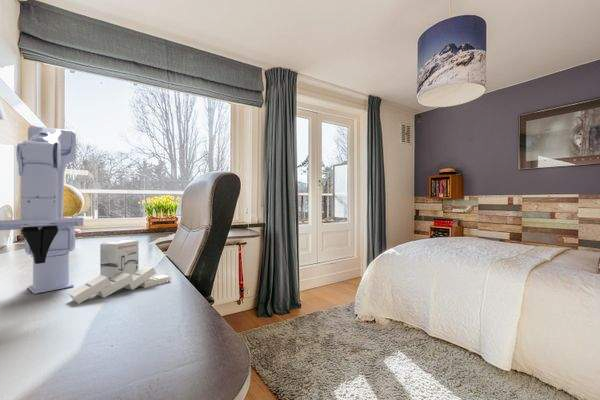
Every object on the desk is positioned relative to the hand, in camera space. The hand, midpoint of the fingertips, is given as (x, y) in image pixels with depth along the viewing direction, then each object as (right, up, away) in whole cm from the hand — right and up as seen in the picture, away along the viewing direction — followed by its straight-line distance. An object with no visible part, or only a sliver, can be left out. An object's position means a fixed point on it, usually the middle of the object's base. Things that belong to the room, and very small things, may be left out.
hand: (39, 262), depth 59 cm
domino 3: (+10, -9, +13) cm, 19 cm away
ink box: (+4, -10, +20) cm, 23 cm away
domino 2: (+7, -9, +8) cm, 14 cm away
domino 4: (+12, -10, +16) cm, 22 cm away
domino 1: (+4, -9, +4) cm, 11 cm away
